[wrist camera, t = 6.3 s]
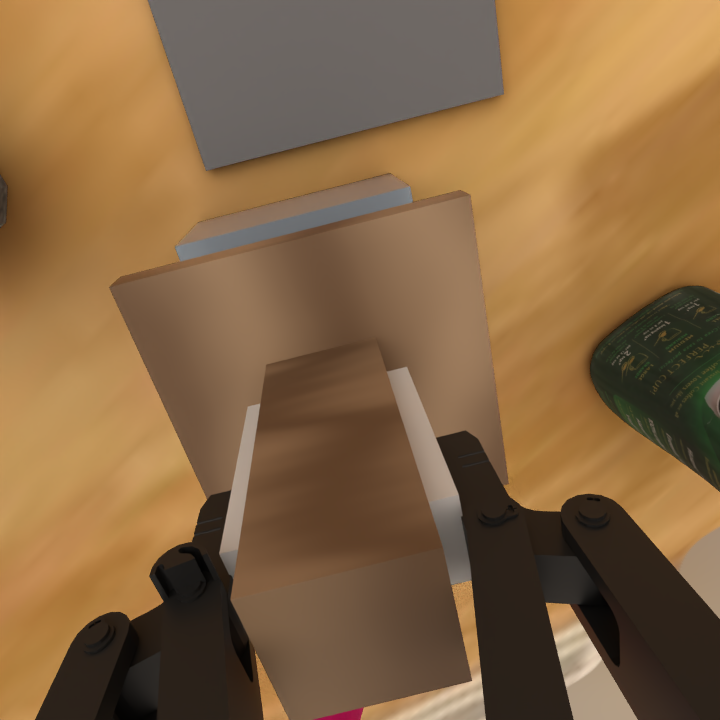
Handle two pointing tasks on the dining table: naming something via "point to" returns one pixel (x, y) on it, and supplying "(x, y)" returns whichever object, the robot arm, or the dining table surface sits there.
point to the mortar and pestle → (3, 201)
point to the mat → (321, 67)
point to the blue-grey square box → (294, 215)
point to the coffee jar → (668, 376)
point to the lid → (331, 435)
